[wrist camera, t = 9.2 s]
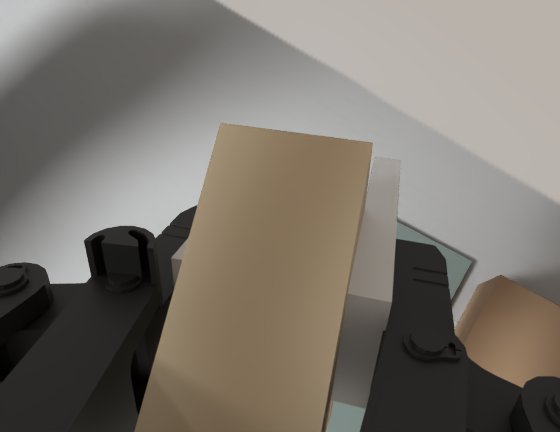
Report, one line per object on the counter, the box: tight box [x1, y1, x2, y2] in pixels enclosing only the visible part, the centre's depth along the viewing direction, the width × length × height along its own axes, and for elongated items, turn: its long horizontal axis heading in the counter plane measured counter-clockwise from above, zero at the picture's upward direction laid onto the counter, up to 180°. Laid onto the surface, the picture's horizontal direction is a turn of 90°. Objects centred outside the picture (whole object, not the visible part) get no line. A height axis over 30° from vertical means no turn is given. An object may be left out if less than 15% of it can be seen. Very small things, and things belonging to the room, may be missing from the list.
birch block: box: [134, 123, 373, 432], centre depth 10 cm, size 2×5×8 cm, turn 167°
